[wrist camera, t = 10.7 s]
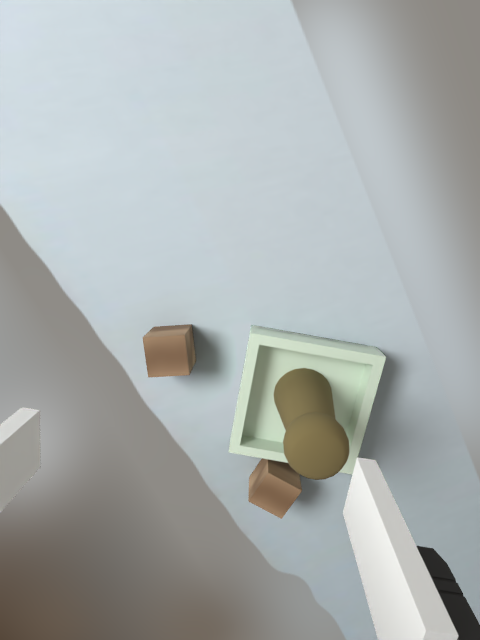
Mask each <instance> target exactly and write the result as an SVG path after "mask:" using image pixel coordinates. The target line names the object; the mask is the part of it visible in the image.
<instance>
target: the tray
mask: <svg viewBox="0 0 480 640" xmlns="http://www.w3.org/2000/svg"><path fill="white" fill-rule="evenodd" d="M385 359H386V356H385V355H384V354H383V353H382V352H381V351H380V350H379V349H378V348H377V347H373V346H367V345H362V344H356V343H350V342H345V341H339V340H333V339H328V338H322V337H317V336H311V335H305V334H300V333H294V332H288V331H283V330H277V329H271V328H266V327H260V326H255V325H251V329H250V335H249V340H248V346H247V351H246V356H245V362H244V367H243V373H242V378H241V383H240V389H239V394H238V400H237V405H236V411H235V416H234V421H233V427H232V432H231V438H230V446H229V452H230V453H236V454H241V455H247V456H252V457H258V458H263V459H269V460H275V461H280V462H286V463H288V461H287V459H286V457H285V455H284V447H283V439H284V435H285V432H286V430H285V428H284V425H283V423H282V420H281V418H280V415H279V413H278V410H277V407H276V405H275V402H274V389H275V385H276V384H277V382H278V381H279V379H280V378H281V377H282V376H283V375H284V374H286V373H287V372H289V371H292V370H294V369H299V368H308V369H313V370H315V371H317V372H319V373H321V374H322V375H323V376H324V377H325V378H326V379H327V380H328V382H329V384H330V386H331V389H332V397H333V404H334V411H335V419H336V420H337V422H338V423H339V424H340V425H341V426H342V427H343V428H344V430H345V432H346V435H347V437H348V439H349V456H348V460H347V462H346V464H345V465H344V466H343V468H342V469H341V470H340V471H339V472H341V473H347V474H353V471H354V467H355V463H356V459H357V457H358V455H359V451H360V448H361V444H362V441H363V437H364V434H365V430H366V427H367V423H368V420H369V416H370V413H371V409H372V405H373V402H374V398H375V395H376V391H377V388H378V384H379V381H380V377H381V374H382V370H383V367H384V363H385Z"/></svg>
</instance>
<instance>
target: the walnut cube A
mask: <svg viewBox="0 0 480 640" xmlns="http://www.w3.org/2000/svg"><path fill="white" fill-rule="evenodd" d="M143 344H144V350H145V357H146V364H147V371H148V377H163V376H181V375H190V373H191V370H192V368H193V366H194V364H195V362H196V357H195V348H194V339H193V331H192V324H191V325H175V326H160V327H153V328H152V329H151V330H150V331H149V332H148V333H147V334H146V335H145V336H144V337H143Z"/></svg>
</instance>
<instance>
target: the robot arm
mask: <svg viewBox="0 0 480 640" xmlns="http://www.w3.org/2000/svg"><path fill="white" fill-rule="evenodd" d="M40 461H41V460H40V410H35V409H29V408H20V409H19V410H18V411H17V412H15V413H14V414H13V415H12V416H10V417H9V418H8V419H7V420H5V421H4V422H3V423H2V424H0V512H1V511H2V510H3V509H4V508H5V507H6V506H7V504H8V503H9V502H10V501H11V500H12V499H13V498H14V497H15V495H16V494H17V493H18V492H19V491H20V490H21V489H22V488H23V486H24V485H25V484H26V483H27V482H28V481H29V480H30V478H31V477H32V476H33V475H34V474H35V473H36V472H37V470H38V469H39V468H40V467H41V466H40V465H41V462H40ZM343 515H344V518H345V522H346V525H347V529H348V533H349V536H350V540H351V543H352V547H353V551H354V554H355V558H356V561H357V565H358V569H359V572H360V576H361V580H362V583H363V587H364V590H365V594H366V598H367V601H368V605H369V608H370V612H371V616H372V619H373V623H374V626H375V630H376V634H377V637H378V640H480V625H479V623H478V621H477V619H476V617H475V615H474V613H473V611H472V610H471V608H470V606H469V604H468V602H467V600H466V598H465V597H463V593H462V591H461V589H460V587H459V585H458V583H456V580H455V578H454V576H453V574H452V572H451V570H450V569H449V567H448V565H447V563H446V562H445V561H444V560H443V559H442V558H441V557H440V556H439V555H438V553H437V552H436V551H435V550H434V549H433V548H426V547H420V546H416V544H415V542H414V540H413V538H412V536H411V534H410V532H409V530H408V527H407V525H406V523H405V521H404V519H403V517H402V515H401V513H400V510H399V508H398V506H397V504H396V502H395V500H394V498H393V496H392V493H391V491H390V489H389V487H388V485H387V483H386V481H385V479H384V477H383V474H382V472H381V470H380V468H379V466H378V464H377V462H376V460H372V459H365V458H358V457H357V459H356V463H355V467H354V471H353V475H352V479H351V483H350V487H349V491H348V495H347V499H346V503H345V507H344V511H343Z"/></svg>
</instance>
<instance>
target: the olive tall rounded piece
mask: <svg viewBox="0 0 480 640" xmlns="http://www.w3.org/2000/svg"><path fill="white" fill-rule="evenodd" d="M274 402H275V405H276V407H277V410H278V413H279V415H280V418H281V420H282V423H283V425H284V428H285V430H286V432H285V435H284V439H283V447H284V455H285V457H286V459H287V461H288V463H289V465H290V466H291V467H292V468H293V469H294V470H295V471H296V472H297V473H298V474H300V475H302V476H304V477H306V478H310V479H315V480H319V479H326V478H329V477H332V476H334V475H335V474H337V473H338V472H339V471H340V470H341V469H342V468H343V466H344V465H345V464H346V462H347V460H348V456H349V439H348V437H347V435H346V432H345V430H344V428H343V427H342V426H341V425H340V424H339V423H338V422H337V420H336V419H335V411H334V404H333V397H332V389H331V386H330V384H329V382H328V380H327V379H326V378H325V377H324V376H323V375H322V374H321V373H319V372H317V371H315V370H313V369H308V368H299V369H294V370H292V371H289V372H287V373H286V374H284V375H283V376H282V377H281V378H280V379H279V381H278V382H277V384H276V385H275V389H274Z"/></svg>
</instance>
